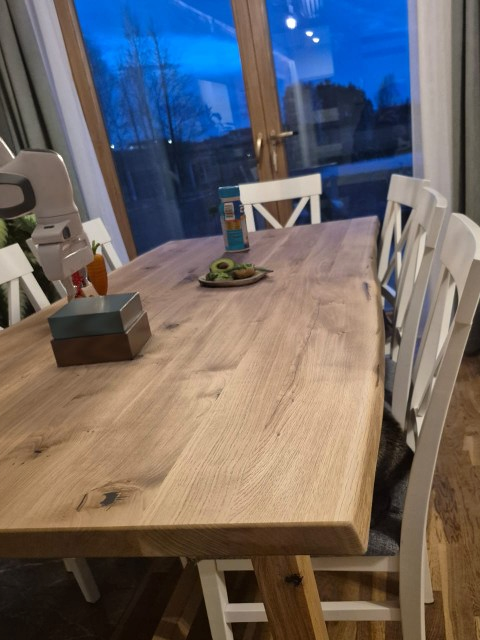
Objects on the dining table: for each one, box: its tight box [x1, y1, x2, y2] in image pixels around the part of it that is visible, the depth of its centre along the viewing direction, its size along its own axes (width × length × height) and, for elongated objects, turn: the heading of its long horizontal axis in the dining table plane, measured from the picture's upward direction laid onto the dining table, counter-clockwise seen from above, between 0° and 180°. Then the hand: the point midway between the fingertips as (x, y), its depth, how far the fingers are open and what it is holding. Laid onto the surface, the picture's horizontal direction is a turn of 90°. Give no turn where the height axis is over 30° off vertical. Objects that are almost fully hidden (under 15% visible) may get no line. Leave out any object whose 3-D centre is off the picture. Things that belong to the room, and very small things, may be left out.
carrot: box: [86, 239, 109, 296], centre depth 146 cm, size 5×5×15 cm
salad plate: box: [197, 257, 274, 288], centre depth 153 cm, size 19×18×5 cm
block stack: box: [47, 291, 152, 368], centre depth 109 cm, size 14×14×9 cm
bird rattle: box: [66, 270, 95, 303], centre depth 132 cm, size 6×11×9 cm
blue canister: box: [217, 185, 251, 254], centre depth 188 cm, size 8×8×20 cm
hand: (78, 291), depth 131 cm, fingers closed on bird rattle, 6 cm apart
